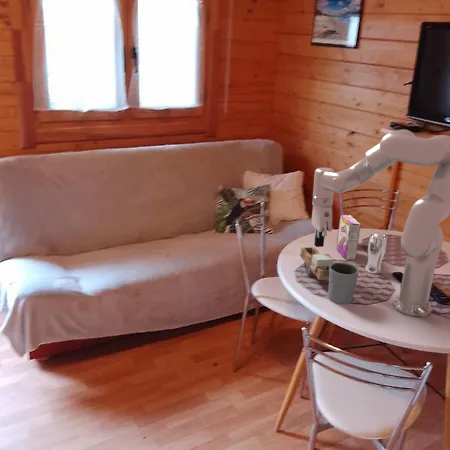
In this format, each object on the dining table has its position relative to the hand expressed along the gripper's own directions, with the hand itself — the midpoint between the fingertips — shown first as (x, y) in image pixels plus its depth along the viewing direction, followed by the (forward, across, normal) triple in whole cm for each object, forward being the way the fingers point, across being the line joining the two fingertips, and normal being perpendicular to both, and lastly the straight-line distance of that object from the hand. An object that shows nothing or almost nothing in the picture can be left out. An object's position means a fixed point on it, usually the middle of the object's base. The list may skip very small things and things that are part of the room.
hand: (318, 246), depth 193 cm
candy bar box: (+12, +16, -19) cm, 28 cm away
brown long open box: (+11, -1, +1) cm, 11 cm away
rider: (+7, -6, +1) cm, 9 cm away
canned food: (+11, +28, -24) cm, 39 cm away
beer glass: (+12, 0, -24) cm, 27 cm away
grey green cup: (+12, -21, -1) cm, 24 cm away
